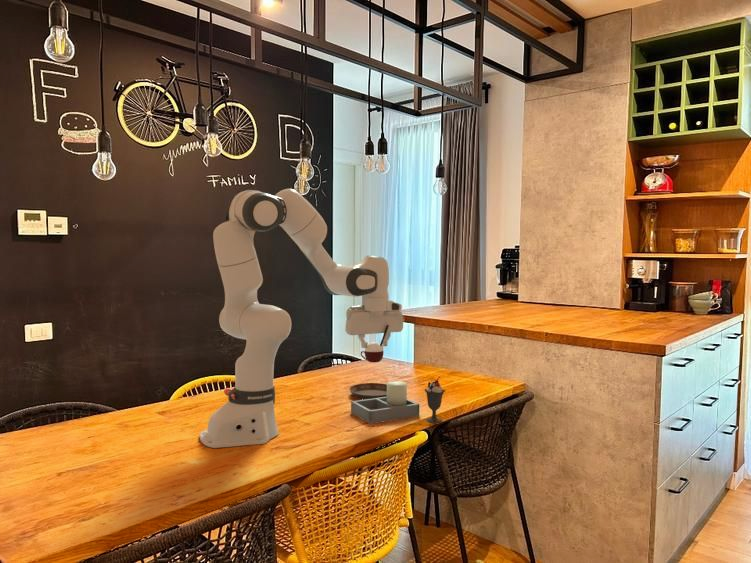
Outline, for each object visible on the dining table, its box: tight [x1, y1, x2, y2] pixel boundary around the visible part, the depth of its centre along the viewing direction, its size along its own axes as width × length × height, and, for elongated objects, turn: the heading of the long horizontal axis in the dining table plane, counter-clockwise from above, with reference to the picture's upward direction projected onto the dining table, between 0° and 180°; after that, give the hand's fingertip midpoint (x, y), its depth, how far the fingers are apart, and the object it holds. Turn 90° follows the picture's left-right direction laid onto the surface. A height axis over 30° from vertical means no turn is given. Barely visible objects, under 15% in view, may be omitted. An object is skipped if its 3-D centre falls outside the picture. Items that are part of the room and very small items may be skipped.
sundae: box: [424, 376, 446, 424], centre depth 182 cm, size 7×7×15 cm
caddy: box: [350, 380, 420, 425], centre depth 188 cm, size 19×13×10 cm
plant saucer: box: [348, 382, 387, 400], centre depth 212 cm, size 18×18×3 cm
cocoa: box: [360, 325, 389, 363], centre depth 185 cm, size 10×6×12 cm, turn 56°
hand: (374, 346), depth 185 cm, fingers closed on cocoa, 6 cm apart
